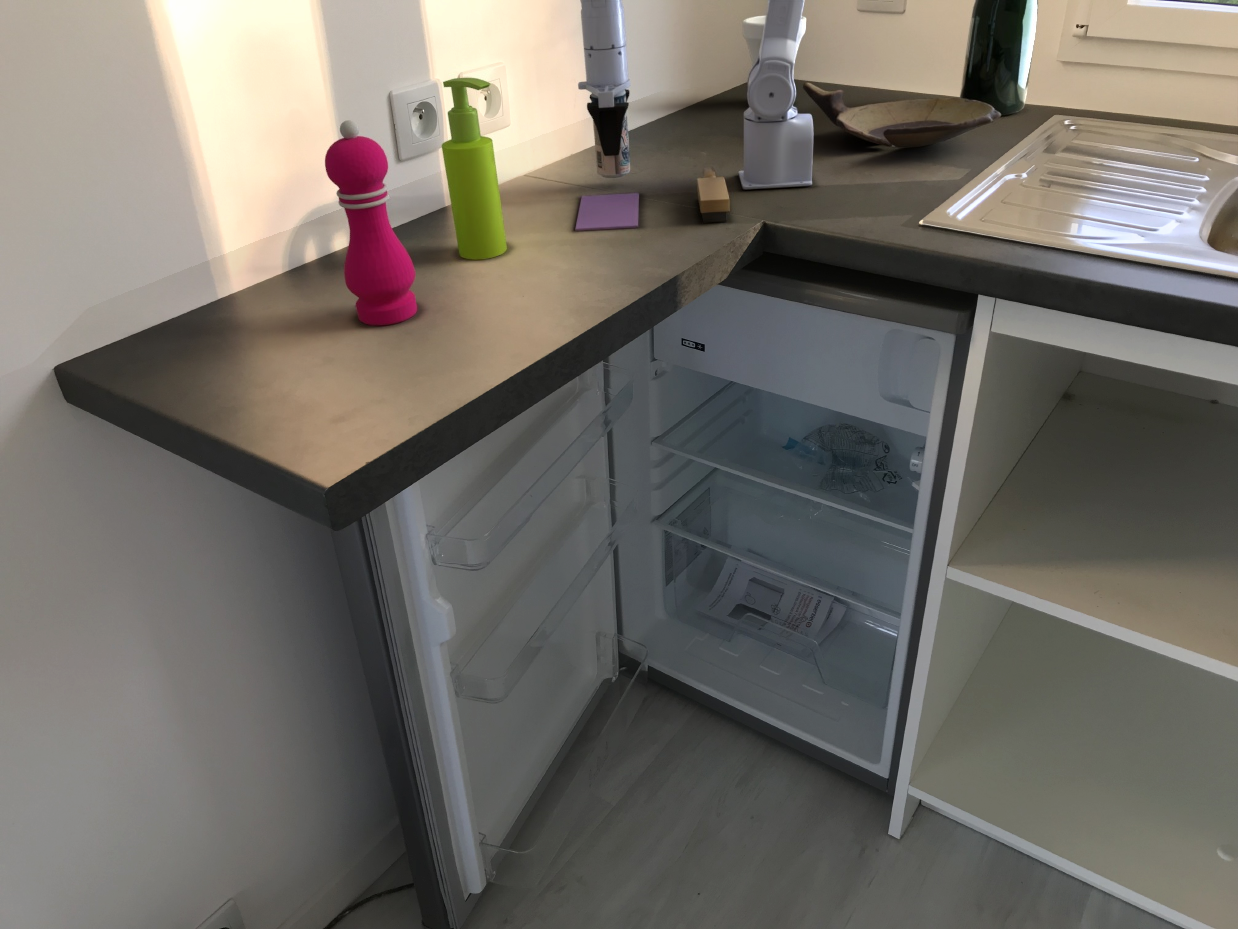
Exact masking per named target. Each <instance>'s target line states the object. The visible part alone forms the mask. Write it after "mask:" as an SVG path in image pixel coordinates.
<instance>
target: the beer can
mask: <svg viewBox="0 0 1238 929" xmlns="http://www.w3.org/2000/svg"><path fill="white" fill-rule="evenodd" d="M590 95H591V100H590V102H598V96H596V95H594V94H593V93H590ZM614 101H616V103H625V102H626V92H625V90H623V91H621V92H620V93H618V94H616V95H615V96H614ZM592 126H593V137H594V138H593V139H594V150H595V160H596V161H595V162H596V173H597V174H598V175H600V176H601V177H602V178H606V179H617V178H622V177H625V176H627V174H628V173H630V172H631V158H630V156H631V155H630V140H629V122H628V110H627V111H626V114H625V117H624V120H623V125H622V133H621V146H620V152H619V155H615V156H604V153H603V151H602V147H601V143H600V139H599V135H598V131H597V128H596V126H595V123H594V121H593V120H592Z"/></svg>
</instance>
